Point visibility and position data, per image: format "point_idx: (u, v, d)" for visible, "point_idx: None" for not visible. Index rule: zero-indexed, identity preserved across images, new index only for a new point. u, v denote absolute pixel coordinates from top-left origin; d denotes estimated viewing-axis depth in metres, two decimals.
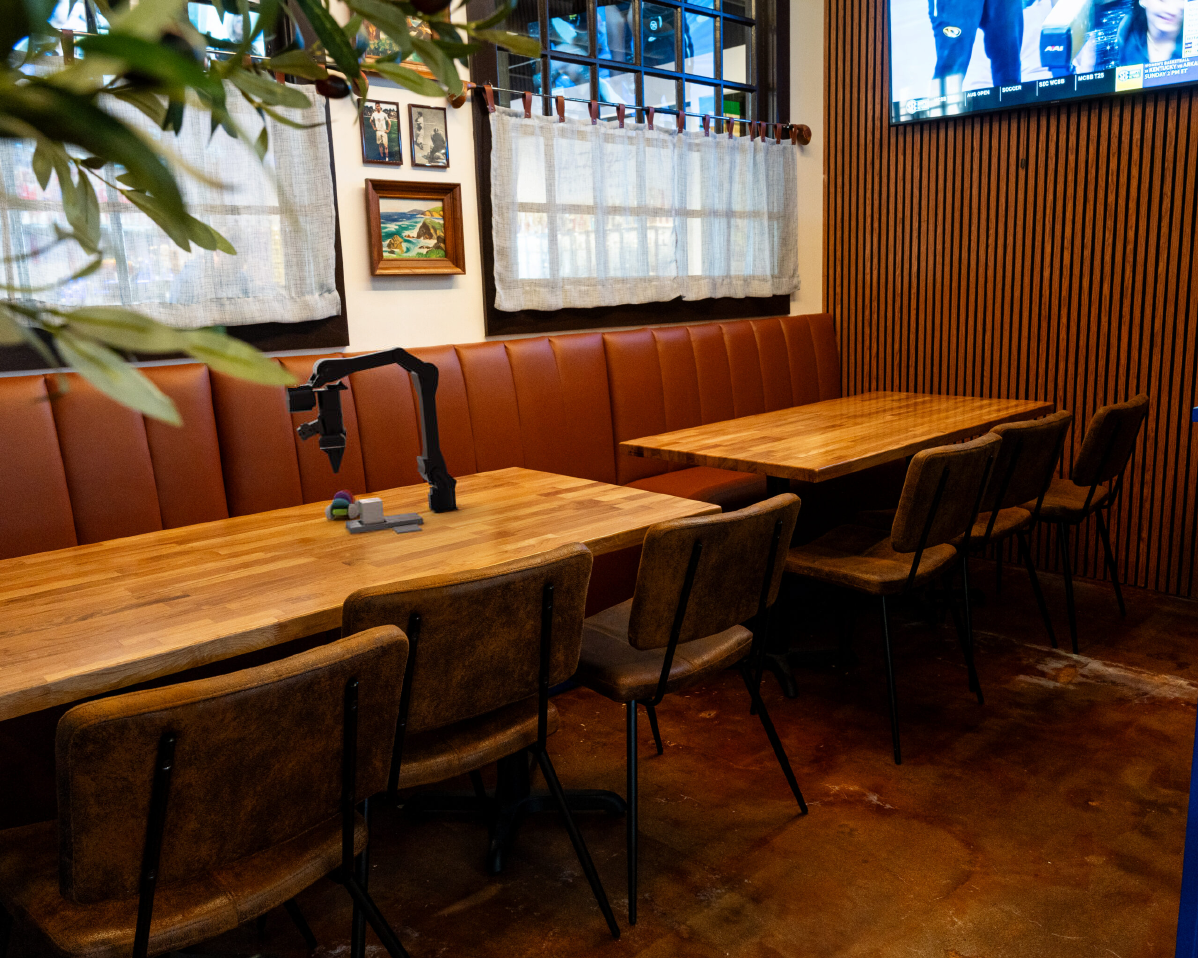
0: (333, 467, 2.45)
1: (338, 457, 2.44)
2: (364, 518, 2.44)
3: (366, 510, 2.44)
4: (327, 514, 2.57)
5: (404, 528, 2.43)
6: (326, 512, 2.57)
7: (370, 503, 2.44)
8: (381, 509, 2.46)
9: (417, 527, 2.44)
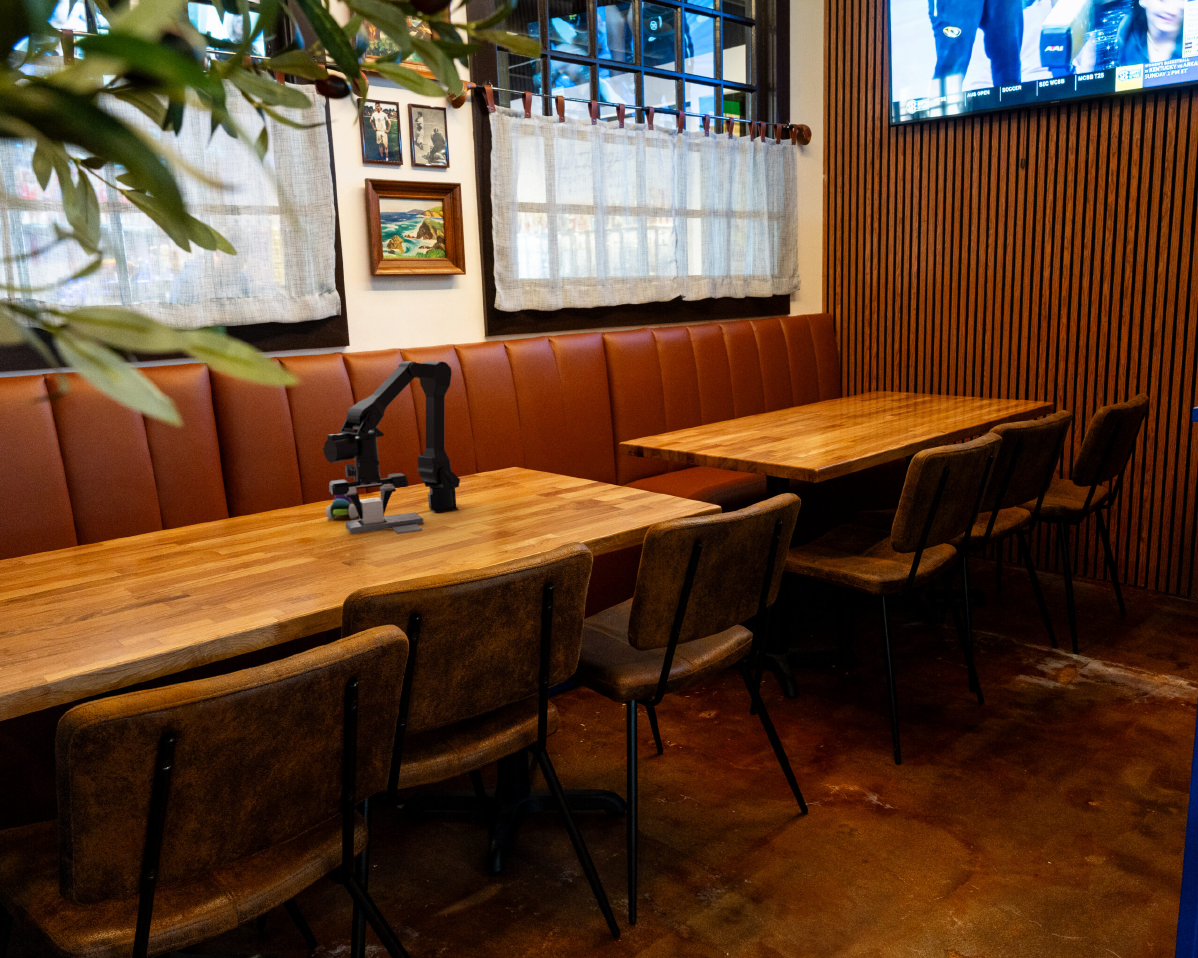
0: (357, 512, 2.46)
1: None
2: (364, 518, 2.44)
3: (366, 510, 2.44)
4: (327, 514, 2.57)
5: (404, 528, 2.43)
6: (326, 512, 2.57)
7: (370, 503, 2.44)
8: (381, 509, 2.46)
9: (417, 527, 2.44)
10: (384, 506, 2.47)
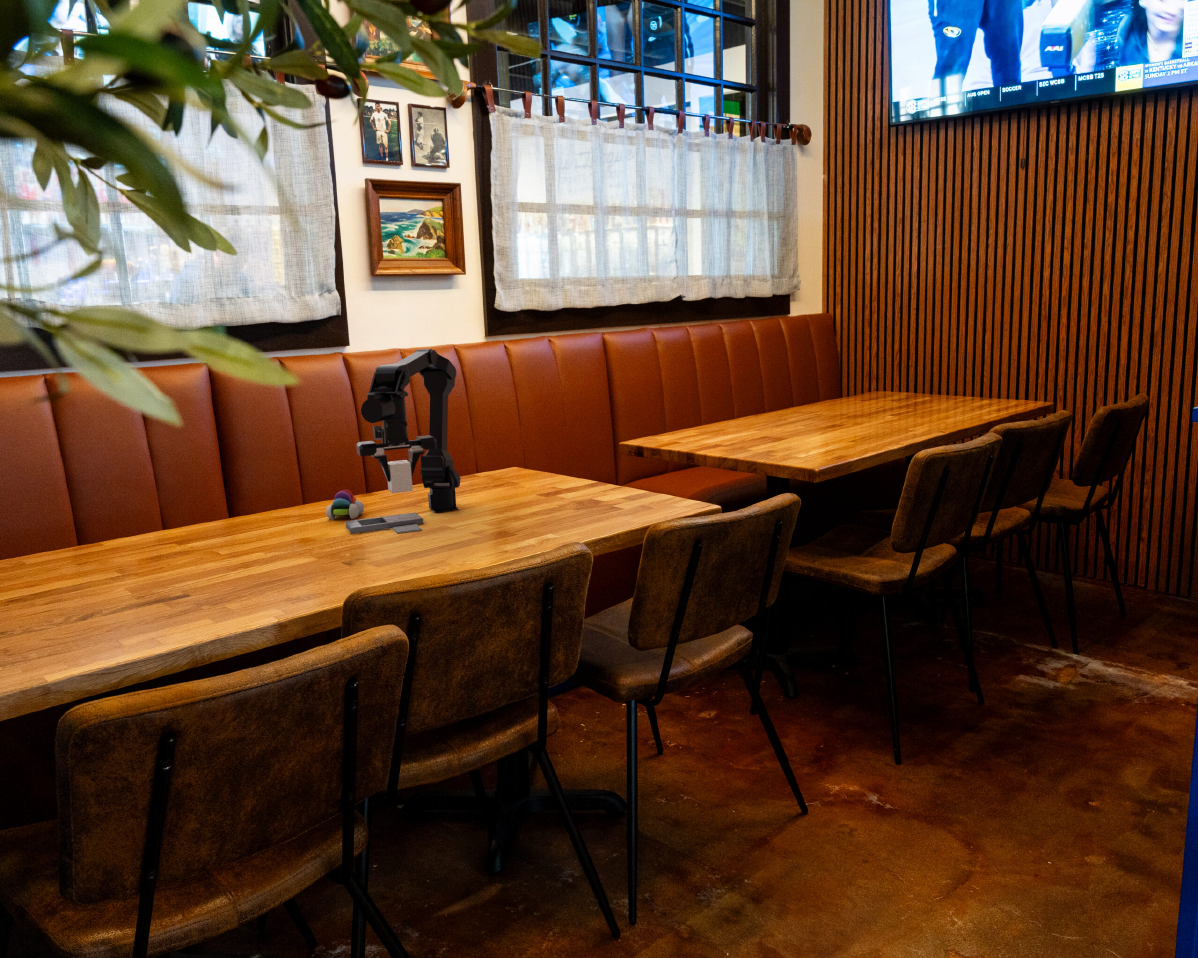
0: (385, 475, 2.41)
1: None
2: (392, 480, 2.39)
3: (394, 472, 2.38)
4: (328, 514, 2.57)
5: (404, 528, 2.43)
6: (327, 512, 2.57)
7: (398, 465, 2.38)
8: (409, 471, 2.40)
9: (417, 527, 2.44)
10: (412, 468, 2.41)
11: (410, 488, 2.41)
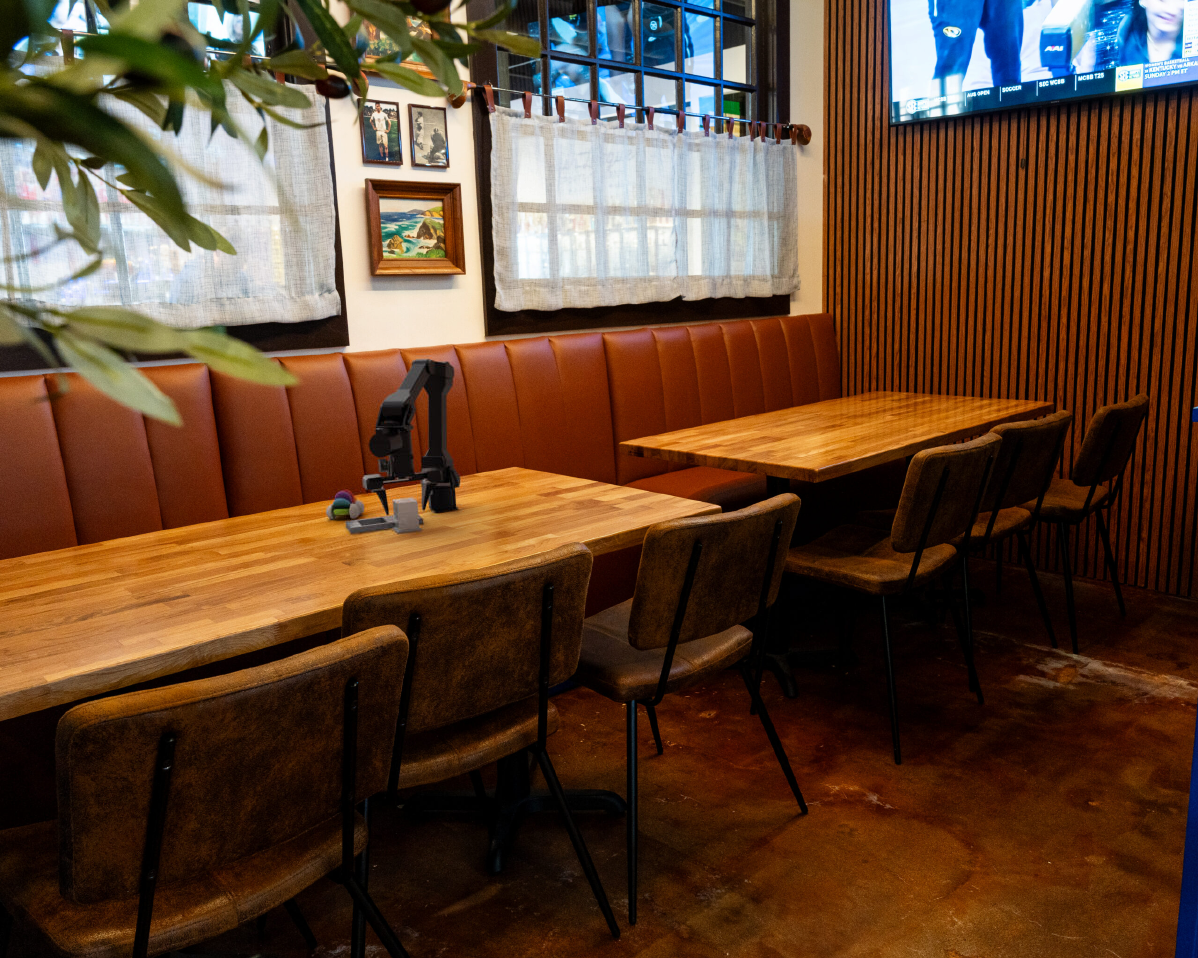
0: (384, 508, 2.41)
1: None
2: (399, 518, 2.40)
3: (401, 510, 2.40)
4: (328, 514, 2.57)
5: None
6: (327, 512, 2.57)
7: (405, 503, 2.40)
8: (416, 509, 2.41)
9: None
10: (425, 500, 2.43)
11: (417, 526, 2.42)
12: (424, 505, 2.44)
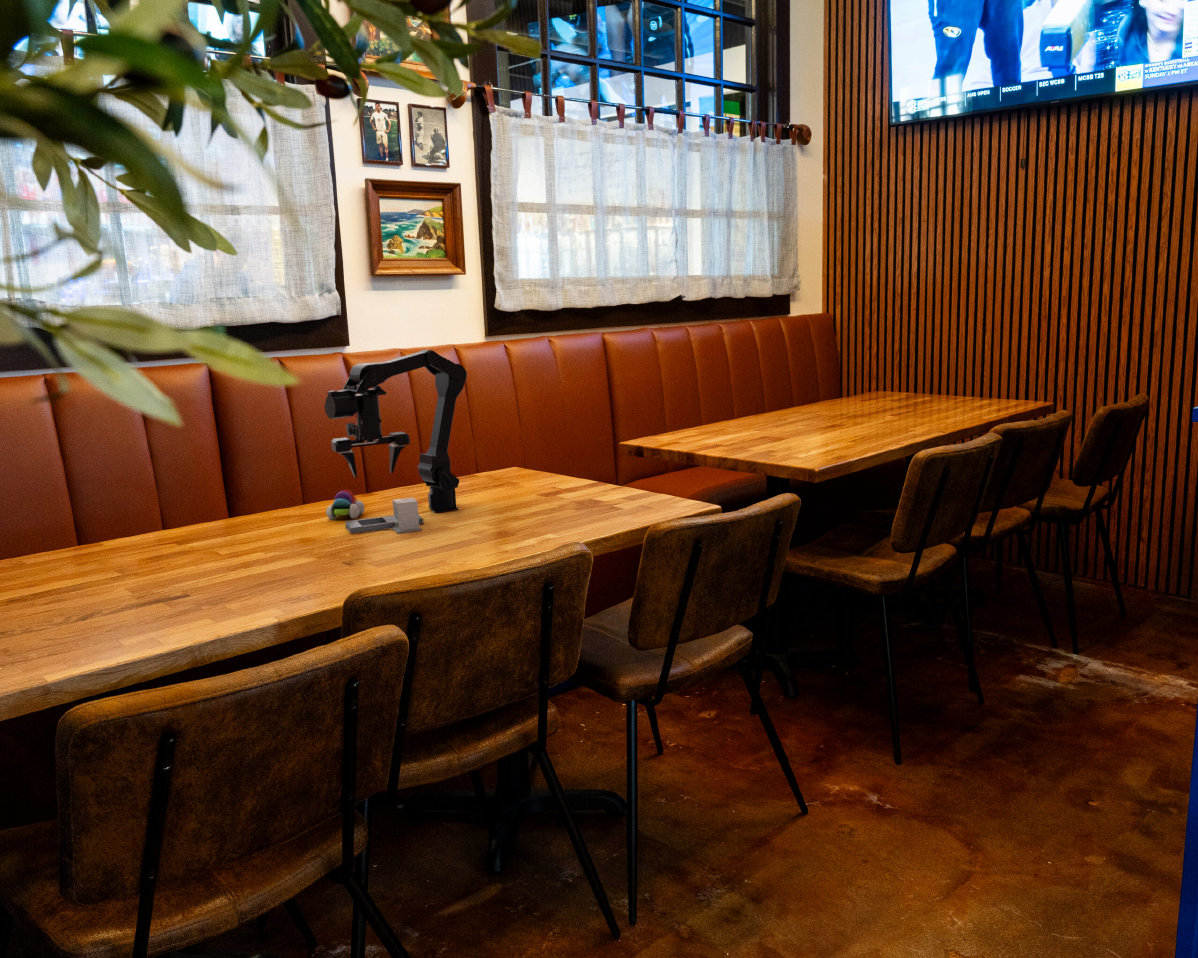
0: None
1: (349, 462, 2.45)
2: (399, 518, 2.40)
3: (401, 510, 2.40)
4: (328, 514, 2.57)
5: None
6: (327, 512, 2.57)
7: (405, 503, 2.40)
8: (416, 509, 2.41)
9: None
10: (393, 463, 2.50)
11: (417, 526, 2.42)
12: (392, 468, 2.50)
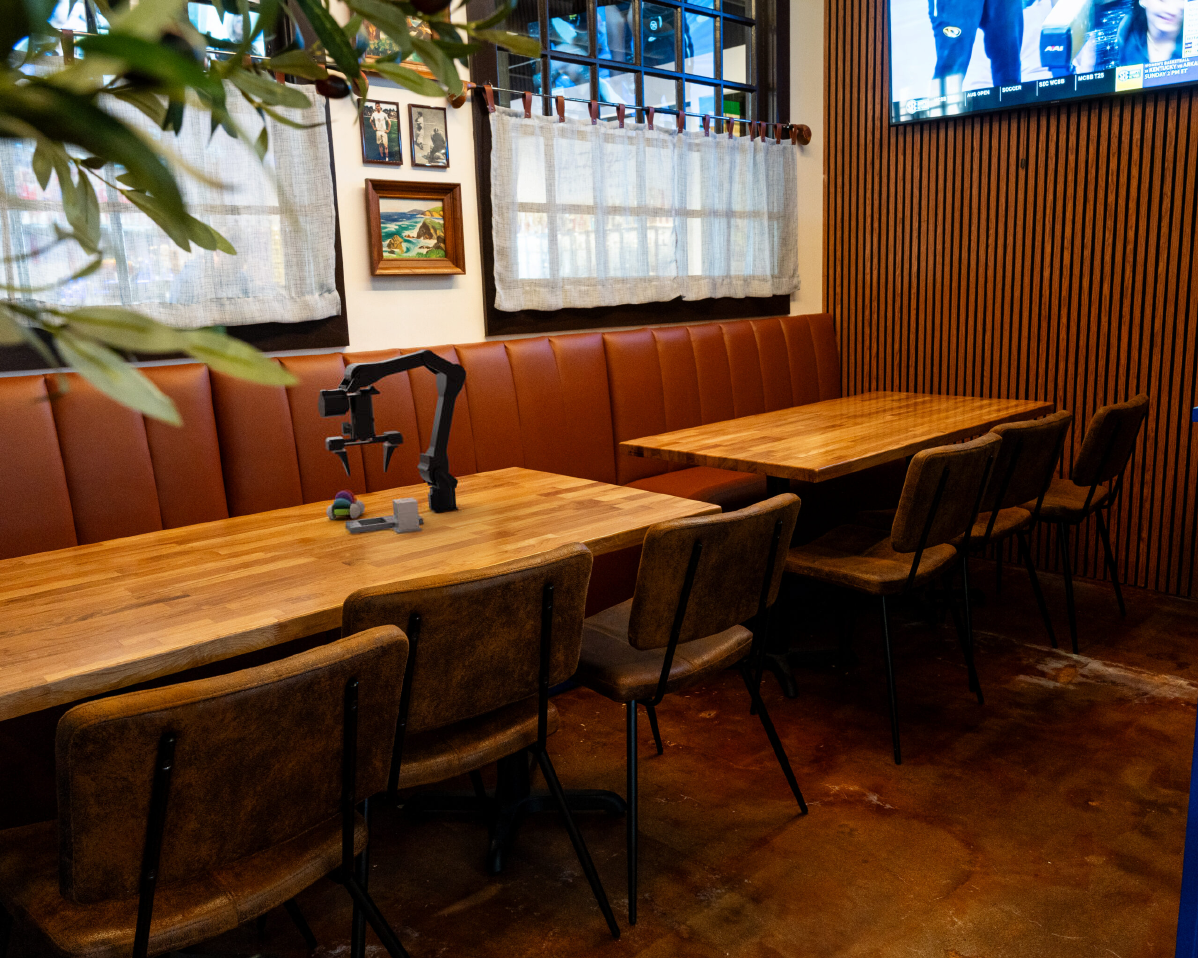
0: None
1: None
2: (399, 518, 2.40)
3: (401, 510, 2.40)
4: (328, 514, 2.57)
5: None
6: (327, 512, 2.57)
7: (405, 503, 2.40)
8: (416, 509, 2.41)
9: None
10: (387, 462, 2.52)
11: (417, 526, 2.42)
12: (386, 467, 2.52)
